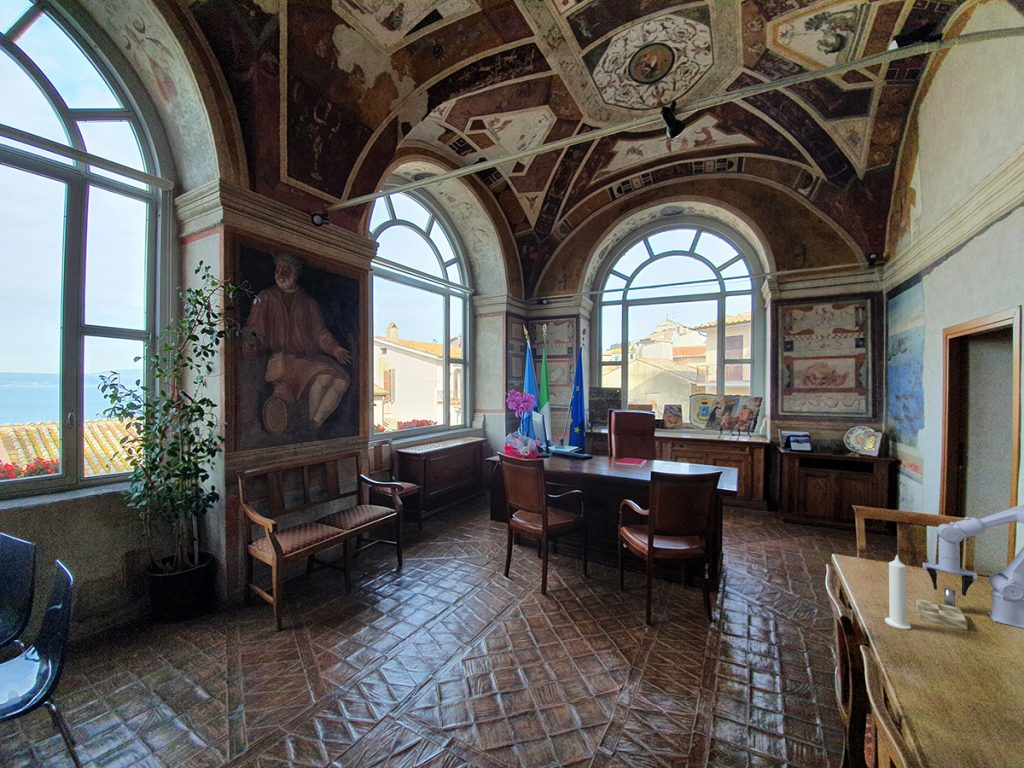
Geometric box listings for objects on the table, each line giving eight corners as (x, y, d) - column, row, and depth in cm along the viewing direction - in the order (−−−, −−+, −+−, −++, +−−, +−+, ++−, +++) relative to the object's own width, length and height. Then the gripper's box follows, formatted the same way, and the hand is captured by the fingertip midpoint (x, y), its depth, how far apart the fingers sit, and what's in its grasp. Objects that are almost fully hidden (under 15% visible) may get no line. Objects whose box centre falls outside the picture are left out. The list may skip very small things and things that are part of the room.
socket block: (959, 616, 158) (959, 608, 158) (967, 630, 149) (967, 621, 149) (915, 605, 166) (915, 598, 166) (920, 619, 156) (920, 610, 156)
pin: (954, 609, 163) (954, 588, 163) (956, 612, 160) (955, 591, 161) (943, 607, 165) (943, 586, 165) (944, 610, 162) (944, 589, 162)
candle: (916, 631, 148) (915, 559, 149) (893, 628, 150) (892, 558, 150) (902, 620, 155) (901, 552, 156) (880, 618, 157) (879, 550, 157)
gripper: (973, 558, 162) (974, 593, 161) (921, 548, 170) (921, 582, 170) (978, 564, 156) (978, 600, 156) (924, 554, 165) (924, 589, 165)
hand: (949, 591), depth 163 cm, fingers open, 7 cm apart
